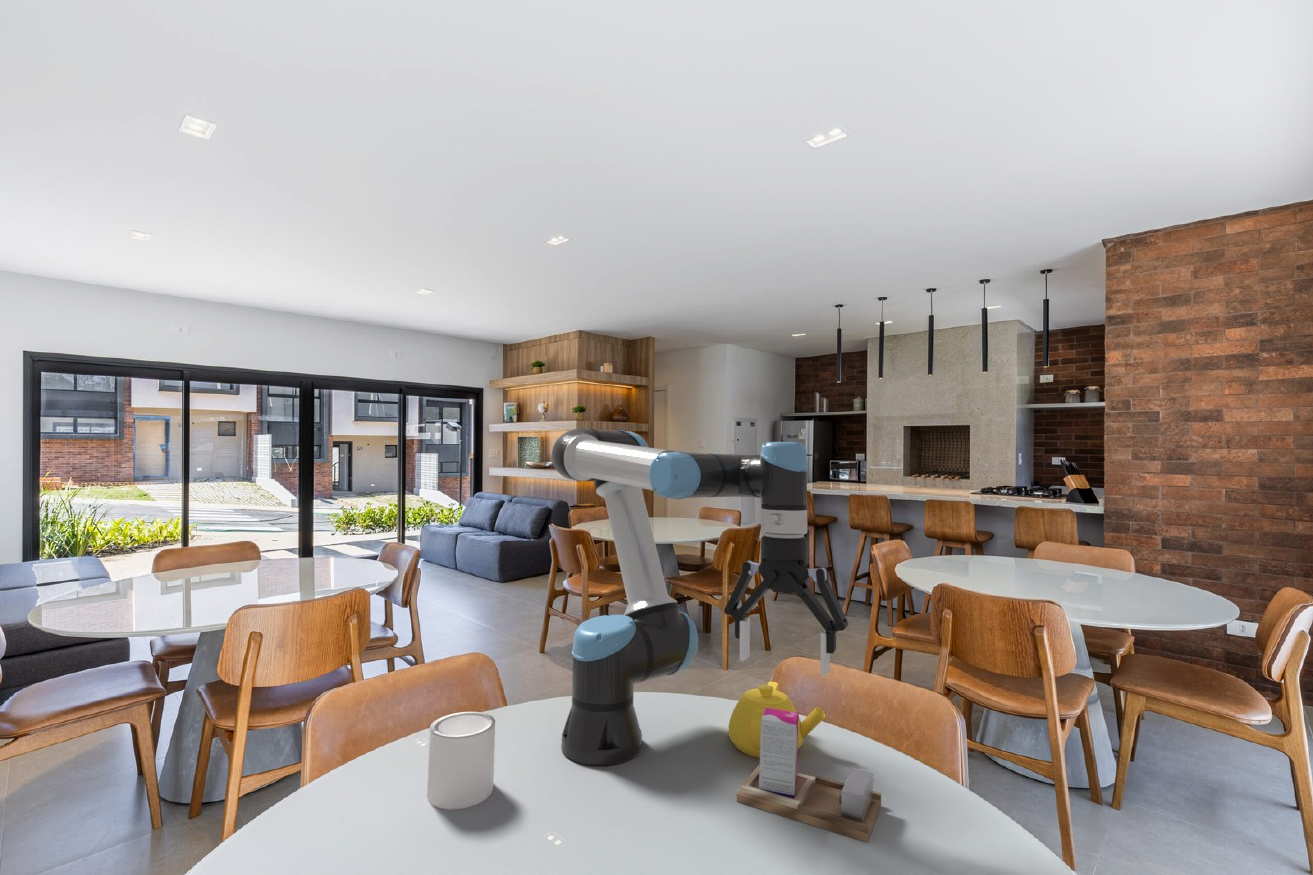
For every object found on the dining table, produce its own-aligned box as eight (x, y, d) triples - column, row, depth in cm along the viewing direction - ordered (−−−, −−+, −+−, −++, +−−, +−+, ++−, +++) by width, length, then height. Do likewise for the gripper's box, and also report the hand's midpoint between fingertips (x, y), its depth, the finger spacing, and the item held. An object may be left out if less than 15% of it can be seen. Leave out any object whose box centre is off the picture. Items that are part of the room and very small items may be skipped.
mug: (427, 771, 104) (429, 708, 105) (488, 762, 108) (490, 701, 108) (426, 814, 91) (429, 742, 92) (496, 802, 95) (498, 733, 95)
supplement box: (795, 799, 95) (796, 725, 96) (757, 793, 97) (758, 719, 97) (798, 781, 101) (798, 711, 101) (762, 775, 102) (763, 706, 103)
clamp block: (837, 816, 90) (837, 789, 90) (849, 792, 97) (849, 766, 97) (862, 824, 88) (862, 796, 88) (872, 798, 95) (872, 772, 95)
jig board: (736, 801, 96) (736, 788, 97) (761, 772, 106) (761, 760, 106) (867, 842, 86) (867, 828, 87) (881, 805, 96) (881, 792, 96)
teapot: (820, 781, 103) (821, 715, 104) (716, 761, 110) (717, 699, 110) (829, 733, 122) (829, 677, 123) (740, 718, 128) (740, 666, 129)
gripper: (706, 532, 103) (704, 658, 102) (856, 542, 91) (857, 687, 90) (723, 528, 110) (723, 647, 109) (866, 538, 97) (867, 672, 96)
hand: (783, 665), depth 99 cm, fingers open, 13 cm apart
